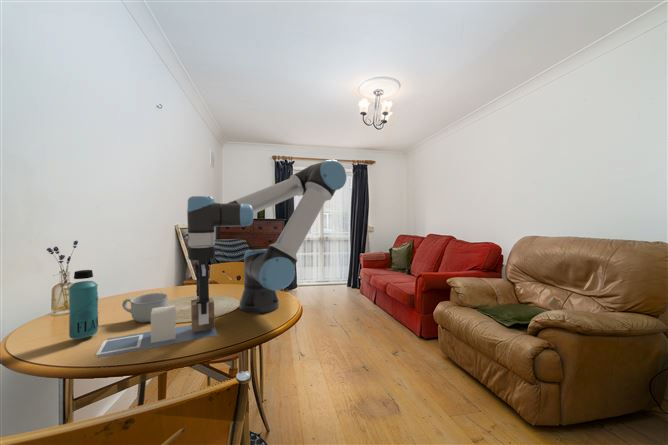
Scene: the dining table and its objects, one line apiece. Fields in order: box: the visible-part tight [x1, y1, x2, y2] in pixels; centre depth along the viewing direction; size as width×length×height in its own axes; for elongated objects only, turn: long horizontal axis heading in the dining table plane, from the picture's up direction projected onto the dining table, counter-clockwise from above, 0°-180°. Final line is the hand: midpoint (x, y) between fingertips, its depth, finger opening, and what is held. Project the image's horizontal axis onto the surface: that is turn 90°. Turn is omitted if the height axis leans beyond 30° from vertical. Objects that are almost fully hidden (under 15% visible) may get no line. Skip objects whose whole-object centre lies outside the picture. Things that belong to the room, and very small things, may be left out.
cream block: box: [150, 305, 177, 343], centre depth 82 cm, size 6×6×8 cm
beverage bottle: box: [68, 269, 99, 340], centre depth 81 cm, size 6×7×20 cm
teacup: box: [122, 292, 169, 324], centre depth 96 cm, size 14×11×8 cm
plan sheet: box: [95, 324, 219, 359], centre depth 82 cm, size 29×13×1 cm, turn 120°
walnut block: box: [190, 297, 215, 332], centre depth 87 cm, size 6×6×8 cm
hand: (202, 320), depth 87 cm, fingers closed on walnut block, 6 cm apart
